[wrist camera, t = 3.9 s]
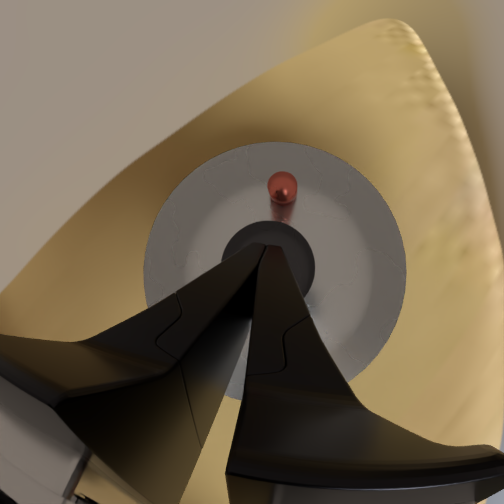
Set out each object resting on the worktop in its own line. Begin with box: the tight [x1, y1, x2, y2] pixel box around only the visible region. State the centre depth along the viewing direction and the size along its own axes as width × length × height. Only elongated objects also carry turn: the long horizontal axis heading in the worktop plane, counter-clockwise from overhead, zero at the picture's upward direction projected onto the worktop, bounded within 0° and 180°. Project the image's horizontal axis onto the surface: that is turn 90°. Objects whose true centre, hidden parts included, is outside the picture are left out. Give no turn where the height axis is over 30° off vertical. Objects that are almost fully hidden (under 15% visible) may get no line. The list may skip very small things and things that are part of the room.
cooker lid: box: [144, 142, 406, 400], centre depth 11 cm, size 10×10×3 cm
